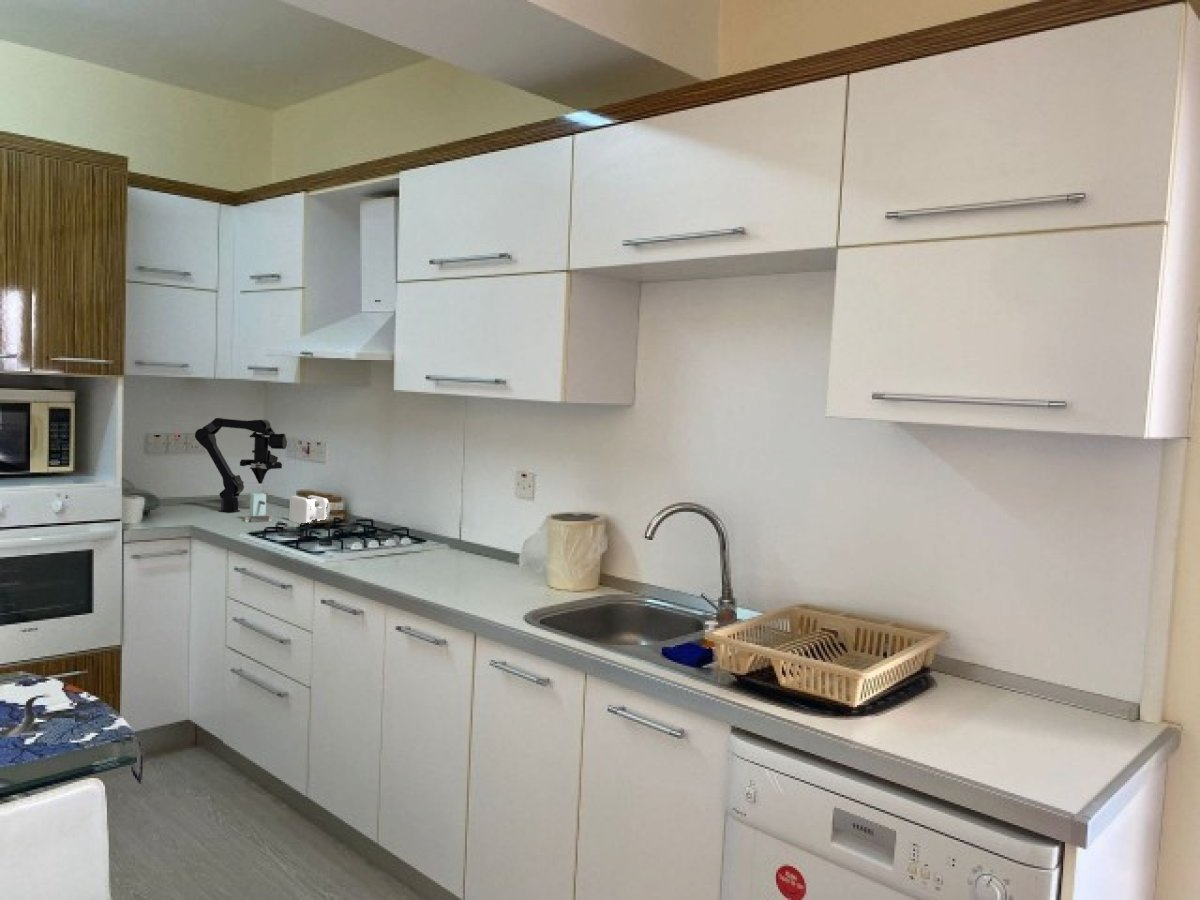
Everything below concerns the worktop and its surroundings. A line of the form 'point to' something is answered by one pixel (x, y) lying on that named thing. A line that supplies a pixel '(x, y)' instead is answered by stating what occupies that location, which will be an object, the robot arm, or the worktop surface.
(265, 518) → the comb rail
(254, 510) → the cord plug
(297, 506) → the cable organizer
